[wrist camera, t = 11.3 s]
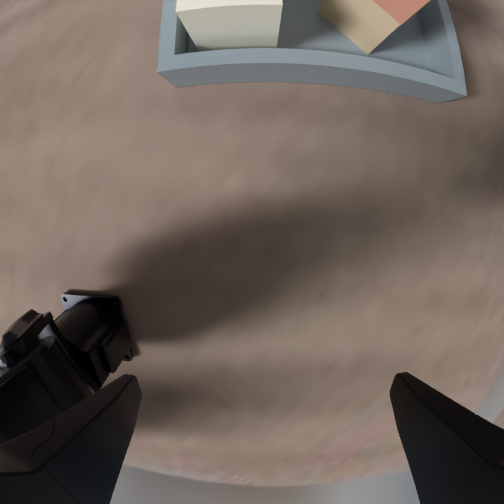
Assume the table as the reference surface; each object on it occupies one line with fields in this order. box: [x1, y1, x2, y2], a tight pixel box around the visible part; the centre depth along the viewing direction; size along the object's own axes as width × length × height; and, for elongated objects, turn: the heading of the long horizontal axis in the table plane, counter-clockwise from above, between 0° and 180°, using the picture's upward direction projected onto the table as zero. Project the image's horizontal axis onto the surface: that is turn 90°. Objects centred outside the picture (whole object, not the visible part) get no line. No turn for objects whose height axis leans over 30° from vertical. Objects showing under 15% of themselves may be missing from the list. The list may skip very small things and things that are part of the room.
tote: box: [157, 0, 467, 104], centre depth 14 cm, size 20×12×4 cm, turn 91°
